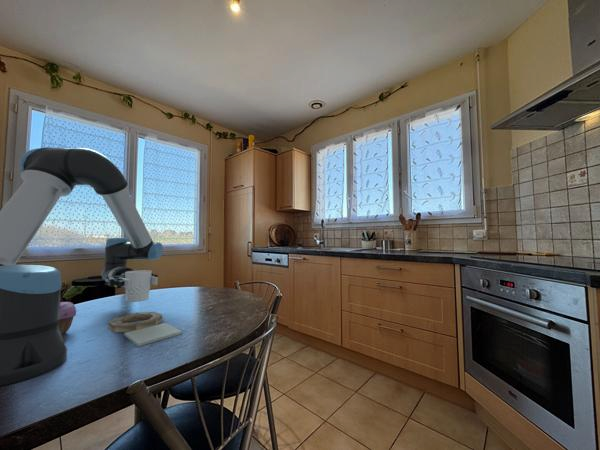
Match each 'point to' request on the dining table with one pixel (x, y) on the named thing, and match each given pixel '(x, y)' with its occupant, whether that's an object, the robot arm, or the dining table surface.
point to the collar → (122, 326)
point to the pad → (152, 334)
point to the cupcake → (66, 316)
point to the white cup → (138, 285)
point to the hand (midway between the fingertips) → (143, 282)
